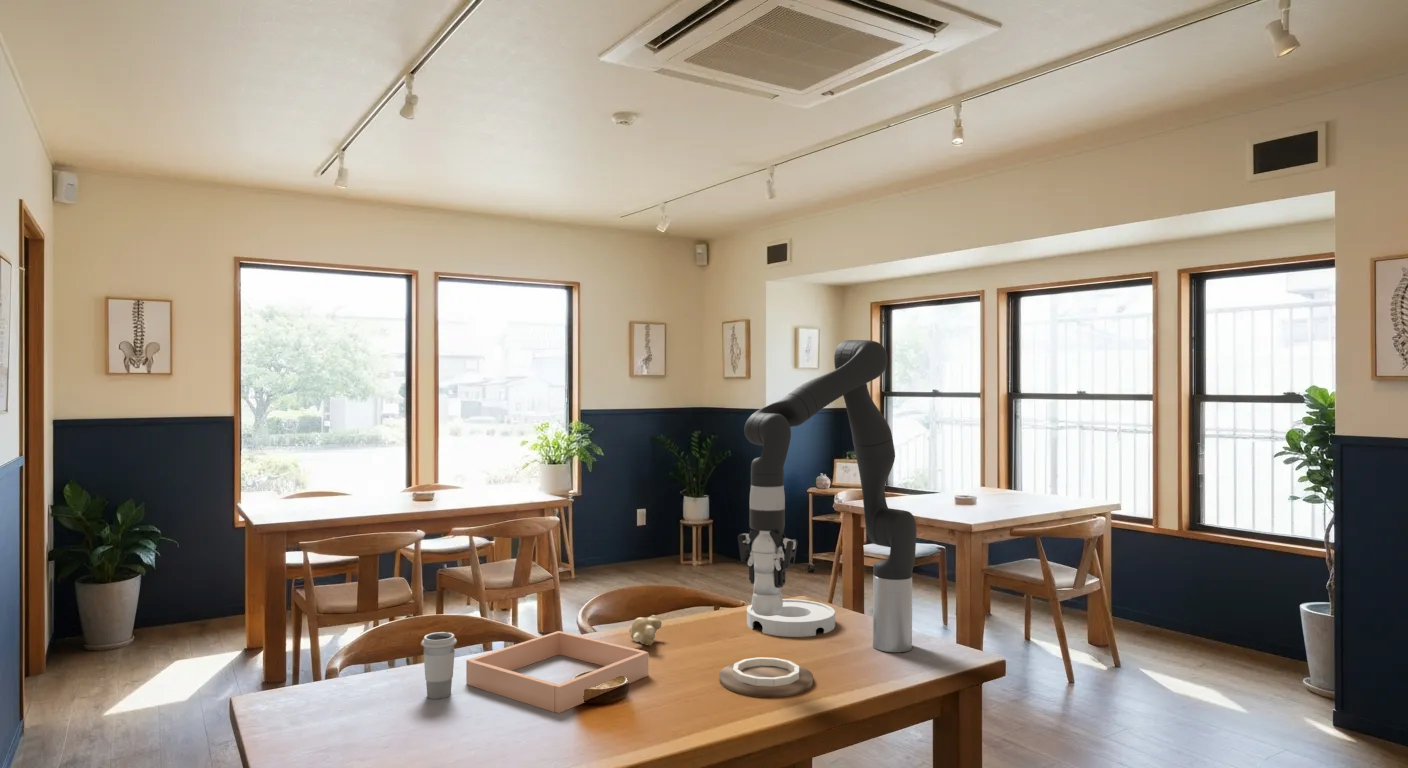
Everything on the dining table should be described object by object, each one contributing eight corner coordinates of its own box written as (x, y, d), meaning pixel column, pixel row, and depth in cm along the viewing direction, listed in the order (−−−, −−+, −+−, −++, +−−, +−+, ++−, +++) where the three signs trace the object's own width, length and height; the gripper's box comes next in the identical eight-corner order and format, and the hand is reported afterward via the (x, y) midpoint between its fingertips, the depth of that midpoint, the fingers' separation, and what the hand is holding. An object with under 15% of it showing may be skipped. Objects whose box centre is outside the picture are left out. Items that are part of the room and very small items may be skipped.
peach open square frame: (559, 651, 210) (559, 630, 210) (648, 675, 194) (649, 652, 194) (465, 684, 188) (465, 660, 188) (558, 713, 172) (558, 687, 172)
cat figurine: (659, 612, 223) (654, 611, 211) (667, 641, 221) (662, 641, 209) (627, 622, 223) (621, 621, 211) (635, 651, 221) (628, 651, 209)
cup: (463, 691, 184) (463, 633, 184) (444, 702, 178) (444, 642, 177) (434, 687, 186) (434, 630, 186) (414, 698, 180) (414, 638, 180)
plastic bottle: (781, 620, 187) (781, 525, 187) (749, 618, 189) (749, 523, 188) (784, 612, 194) (784, 520, 193) (753, 610, 195) (753, 519, 195)
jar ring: (756, 660, 201) (756, 653, 201) (810, 672, 193) (810, 665, 193) (720, 677, 190) (720, 670, 190) (777, 690, 181) (777, 683, 181)
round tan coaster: (752, 659, 205) (752, 654, 205) (829, 677, 193) (829, 671, 193) (700, 683, 189) (700, 678, 189) (782, 704, 177) (782, 698, 177)
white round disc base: (741, 635, 225) (741, 619, 225) (751, 611, 248) (751, 597, 248) (834, 640, 222) (834, 624, 222) (835, 615, 245) (835, 601, 244)
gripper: (805, 507, 190) (805, 586, 190) (748, 501, 198) (748, 577, 198) (787, 511, 184) (787, 593, 184) (729, 505, 192) (729, 583, 192)
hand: (766, 584), depth 191 cm, fingers closed on plastic bottle, 5 cm apart
